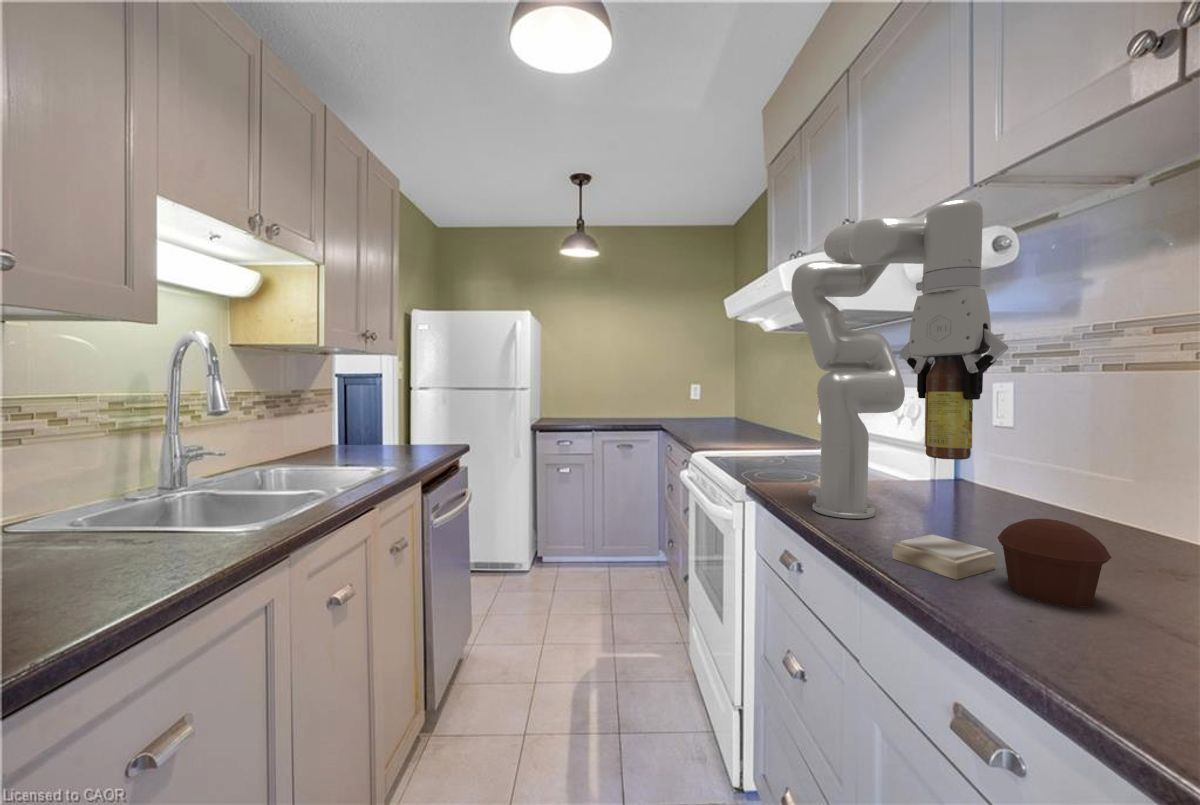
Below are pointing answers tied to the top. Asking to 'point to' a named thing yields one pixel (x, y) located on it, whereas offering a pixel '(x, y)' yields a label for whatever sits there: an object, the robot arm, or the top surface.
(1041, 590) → the muffin
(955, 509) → the top surface
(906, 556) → the birch riser
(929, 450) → the sauce bottle
